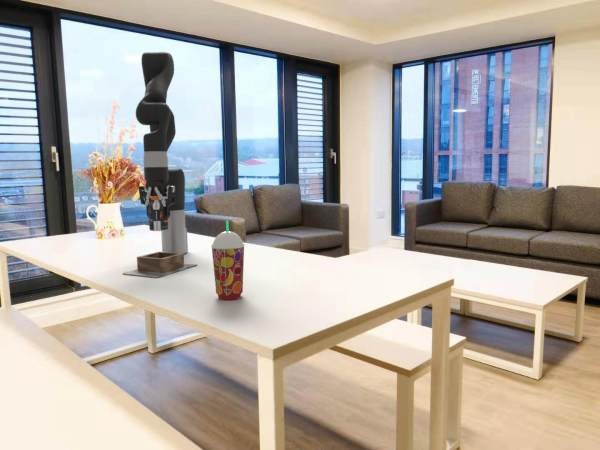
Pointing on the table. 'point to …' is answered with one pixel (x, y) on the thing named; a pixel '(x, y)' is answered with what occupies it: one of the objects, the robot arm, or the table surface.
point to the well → (159, 264)
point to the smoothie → (228, 264)
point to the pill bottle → (157, 215)
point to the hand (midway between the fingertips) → (158, 217)
